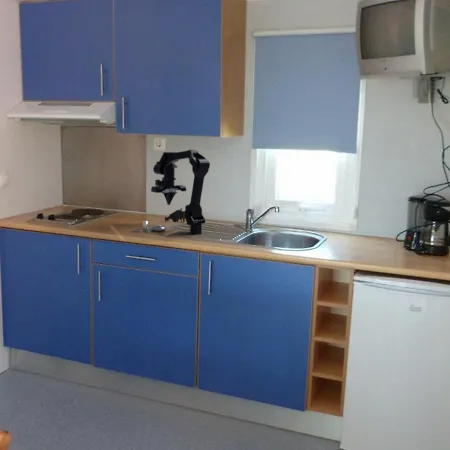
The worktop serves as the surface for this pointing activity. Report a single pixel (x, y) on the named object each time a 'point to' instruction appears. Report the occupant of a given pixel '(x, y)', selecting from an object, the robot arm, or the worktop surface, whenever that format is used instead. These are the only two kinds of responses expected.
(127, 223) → the worktop surface
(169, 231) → the board
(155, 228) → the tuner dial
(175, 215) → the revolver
